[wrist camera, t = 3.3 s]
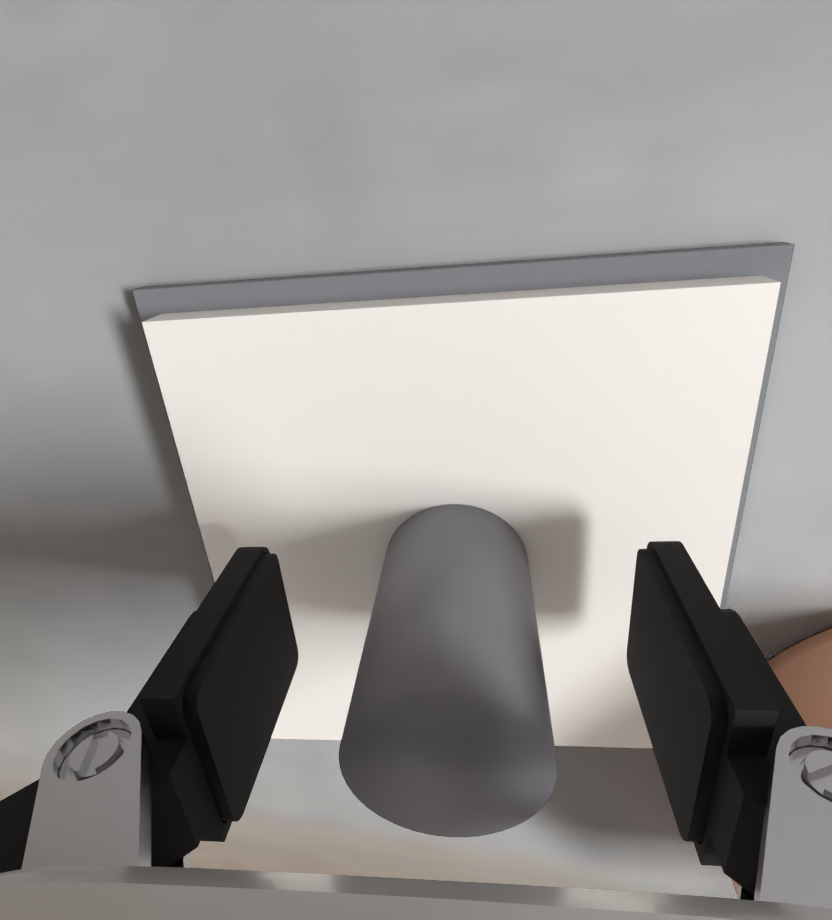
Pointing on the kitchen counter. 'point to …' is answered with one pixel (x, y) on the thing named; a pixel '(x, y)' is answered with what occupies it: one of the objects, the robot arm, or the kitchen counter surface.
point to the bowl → (807, 680)
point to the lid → (467, 511)
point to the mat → (494, 278)
